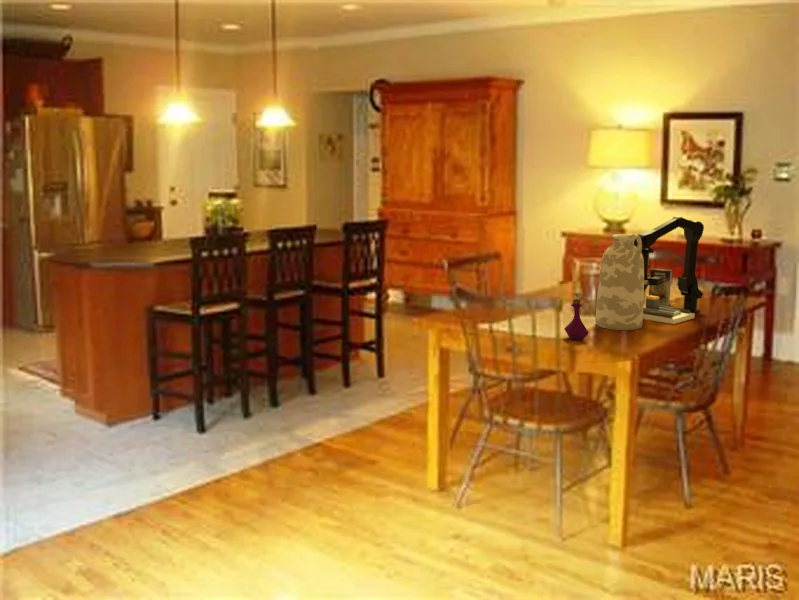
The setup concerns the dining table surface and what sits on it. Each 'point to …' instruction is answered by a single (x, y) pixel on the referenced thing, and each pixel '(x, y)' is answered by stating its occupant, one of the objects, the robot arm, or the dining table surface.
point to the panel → (667, 314)
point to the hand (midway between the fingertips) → (639, 298)
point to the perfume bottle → (576, 322)
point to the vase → (621, 285)
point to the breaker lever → (652, 302)
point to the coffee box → (663, 289)
